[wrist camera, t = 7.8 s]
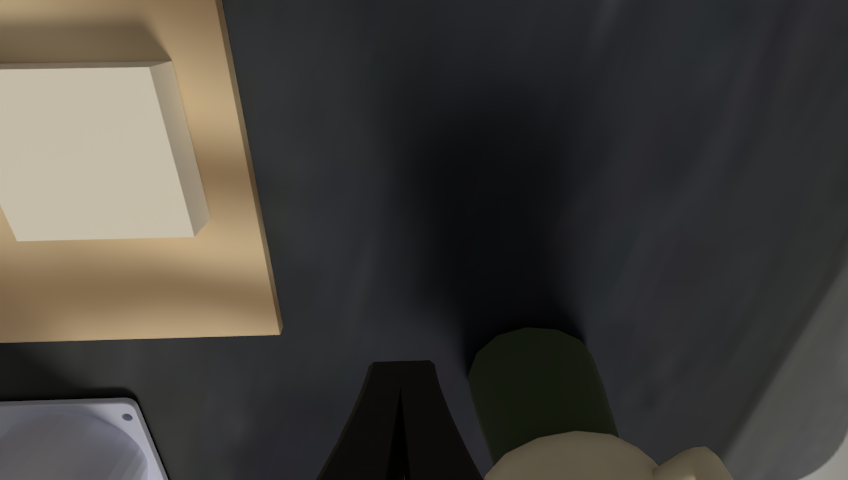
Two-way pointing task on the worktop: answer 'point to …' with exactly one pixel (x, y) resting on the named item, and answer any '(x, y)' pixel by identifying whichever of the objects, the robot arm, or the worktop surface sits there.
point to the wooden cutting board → (145, 257)
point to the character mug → (560, 416)
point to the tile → (97, 152)
